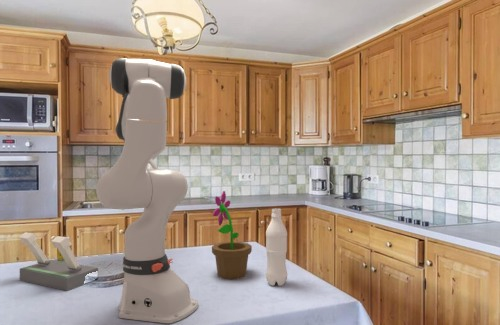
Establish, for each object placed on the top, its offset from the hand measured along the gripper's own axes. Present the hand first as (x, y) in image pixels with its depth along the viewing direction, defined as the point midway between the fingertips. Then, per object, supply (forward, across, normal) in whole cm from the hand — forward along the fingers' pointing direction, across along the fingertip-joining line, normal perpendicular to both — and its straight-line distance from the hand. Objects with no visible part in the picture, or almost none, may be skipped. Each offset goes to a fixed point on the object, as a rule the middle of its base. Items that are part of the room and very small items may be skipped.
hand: (120, 190), depth 134 cm
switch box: (+33, -12, +9) cm, 36 cm away
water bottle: (+14, +58, +30) cm, 67 cm away
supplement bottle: (+22, -30, +20) cm, 42 cm away
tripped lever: (+30, -4, +5) cm, 30 cm away
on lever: (+30, -20, +5) cm, 36 cm away
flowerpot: (+13, +40, +31) cm, 52 cm away
